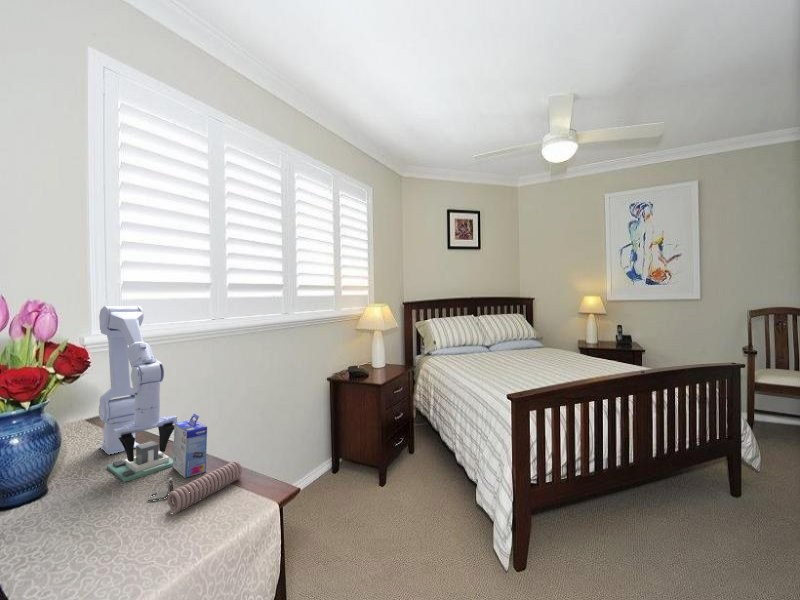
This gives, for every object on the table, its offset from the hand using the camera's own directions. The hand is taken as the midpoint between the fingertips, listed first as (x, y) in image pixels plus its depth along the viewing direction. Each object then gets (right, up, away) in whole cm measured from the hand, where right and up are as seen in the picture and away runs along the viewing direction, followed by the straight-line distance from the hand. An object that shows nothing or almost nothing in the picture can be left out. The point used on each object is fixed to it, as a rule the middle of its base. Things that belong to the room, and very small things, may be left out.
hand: (146, 455), depth 100 cm
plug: (0, -2, 0) cm, 2 cm away
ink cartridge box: (+13, -3, -2) cm, 14 cm away
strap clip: (+16, -3, -15) cm, 22 cm away
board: (-1, -3, 0) cm, 3 cm away
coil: (+25, -3, -14) cm, 28 cm away
